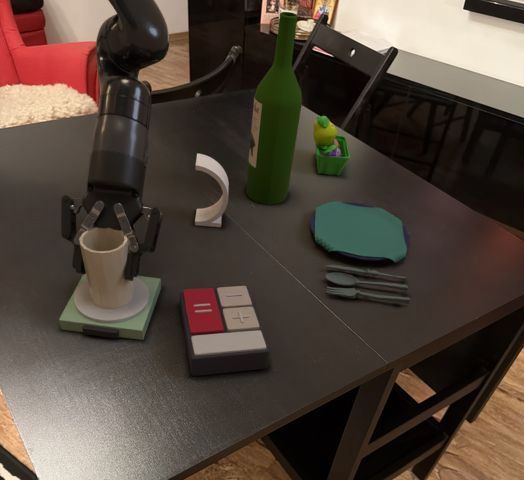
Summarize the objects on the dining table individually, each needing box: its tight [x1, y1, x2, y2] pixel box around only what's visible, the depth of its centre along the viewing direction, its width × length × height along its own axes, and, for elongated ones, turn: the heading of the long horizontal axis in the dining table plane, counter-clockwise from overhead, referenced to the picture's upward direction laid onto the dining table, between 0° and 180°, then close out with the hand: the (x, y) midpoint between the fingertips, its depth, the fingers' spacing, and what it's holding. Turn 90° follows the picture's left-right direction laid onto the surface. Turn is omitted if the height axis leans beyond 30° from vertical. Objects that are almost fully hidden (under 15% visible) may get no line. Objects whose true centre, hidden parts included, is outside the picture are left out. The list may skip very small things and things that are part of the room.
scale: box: [58, 274, 162, 341], centre depth 73 cm, size 12×13×3 cm
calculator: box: [179, 285, 271, 377], centre depth 71 cm, size 11×4×15 cm
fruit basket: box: [312, 115, 351, 176], centre depth 111 cm, size 11×9×11 cm
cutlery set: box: [309, 200, 411, 305], centre depth 91 cm, size 20×30×2 cm, turn 174°
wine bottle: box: [245, 11, 303, 205], centre depth 91 cm, size 9×9×32 cm
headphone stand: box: [194, 152, 230, 228], centre depth 89 cm, size 5×6×12 cm
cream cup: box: [79, 227, 134, 309], centre depth 69 cm, size 6×6×10 cm
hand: (105, 276), depth 68 cm, fingers closed on cream cup, 6 cm apart
